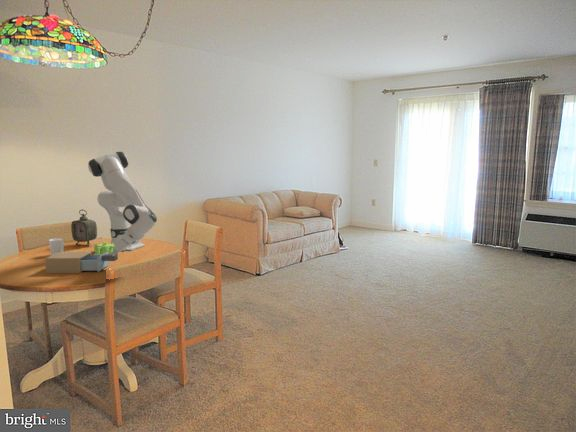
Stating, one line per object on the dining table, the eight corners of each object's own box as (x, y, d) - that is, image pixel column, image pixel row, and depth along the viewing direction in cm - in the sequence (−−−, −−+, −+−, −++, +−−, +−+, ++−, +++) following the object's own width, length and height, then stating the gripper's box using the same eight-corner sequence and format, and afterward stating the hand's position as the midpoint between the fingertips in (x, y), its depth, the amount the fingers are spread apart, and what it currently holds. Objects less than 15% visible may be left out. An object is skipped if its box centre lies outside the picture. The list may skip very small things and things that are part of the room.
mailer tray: (121, 264, 231) (120, 251, 230) (112, 271, 217) (111, 258, 216) (77, 264, 230) (75, 251, 229) (64, 271, 216) (63, 258, 215)
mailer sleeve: (92, 265, 231) (91, 251, 229) (80, 272, 217) (79, 258, 215) (60, 265, 230) (58, 251, 229) (46, 272, 216) (45, 258, 215)
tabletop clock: (72, 245, 278) (69, 209, 274) (83, 243, 286) (81, 208, 282) (88, 247, 273) (85, 211, 269) (99, 244, 281) (96, 209, 277)
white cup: (63, 256, 250) (61, 240, 249) (48, 257, 248) (47, 241, 247) (66, 253, 258) (64, 237, 256) (52, 254, 256) (50, 238, 254)
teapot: (117, 259, 244) (116, 243, 242) (96, 261, 238) (95, 245, 237) (114, 255, 254) (113, 239, 252) (94, 257, 248) (93, 241, 247)
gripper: (135, 227, 231) (119, 244, 233) (121, 235, 211) (104, 253, 212) (143, 235, 232) (127, 252, 233) (131, 243, 212) (113, 261, 213)
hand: (116, 253), depth 223 cm, fingers open, 8 cm apart
